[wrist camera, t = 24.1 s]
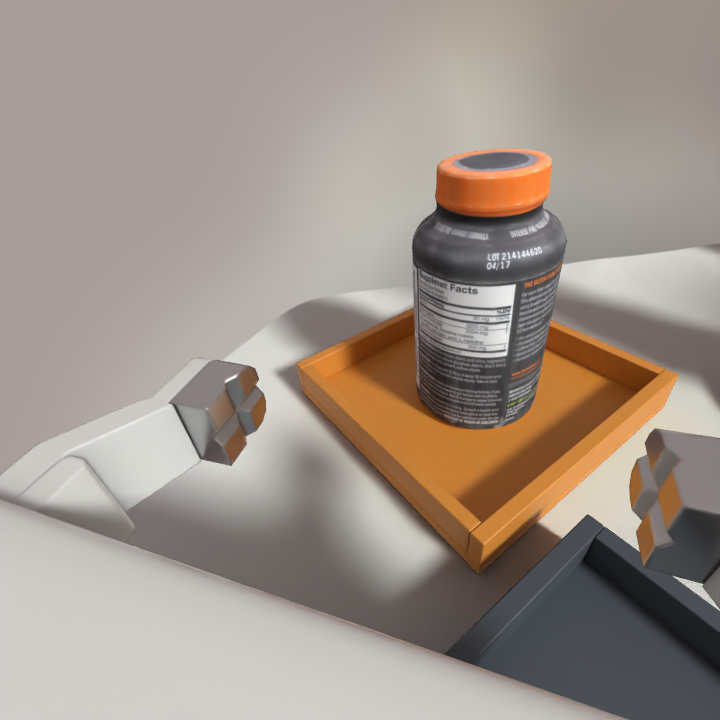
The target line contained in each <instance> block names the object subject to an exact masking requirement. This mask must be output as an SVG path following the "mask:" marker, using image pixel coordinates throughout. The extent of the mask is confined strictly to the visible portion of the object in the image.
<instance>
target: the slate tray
mask: <svg viewBox="0 0 720 720" xmlns="http://www.w3.org/2000/svg"><path fill="white" fill-rule="evenodd" d="M444 655H446V656H449V657H452V658H455V659H458V660H460V661H463V662H466V663H469V664H472V665H475V666H478V667H480V668H483V669H486V670H489V671H492V672H495V673H498V674H500V675H503V676H506V677H509V678H512V679H515V680H518V681H520V682H523V683H526V684H529V685H532V686H535V687H537V688H540V689H543V690H546V691H549V692H552V693H555V694H557V695H560V696H563V697H566V698H569V699H572V700H575V701H577V702H580V703H583V704H586V705H589V706H592V707H595V708H597V709H600V710H603V711H606V712H609V713H612V714H615V715H617V716H620V717H623V718H626V719H629V720H720V611H719V610H717V609H716V608H715V607H713V606H712V605H711V604H709V603H708V602H707V601H705V600H704V599H702V598H701V597H700V596H698V595H697V594H696V593H694V592H693V591H692V590H690V589H689V588H688V587H686V586H685V585H683V584H682V583H681V582H679V581H678V580H677V579H675V578H674V577H673V576H671V575H668V574H665V573H661V572H657V571H654V570H650V569H646V568H643V565H642V560H641V555H640V552H639V551H637V550H636V549H635V548H633V547H632V546H631V545H629V544H628V543H627V542H625V541H624V540H622V539H621V538H620V537H618V536H617V535H616V534H614V533H613V532H612V531H610V530H609V529H608V528H606V527H605V528H604V526H603V525H602V524H601V523H599V522H598V521H597V520H595V519H594V518H593V517H591V516H590V515H586V516H585V517H584V518H583V519H582V520H581V521H580V522H579V523H578V524H577V525H576V526H575V527H574V528H573V529H572V530H571V531H570V532H569V533H568V534H567V535H566V536H565V537H564V538H563V539H562V540H561V541H560V542H559V543H558V544H557V545H556V546H555V547H553V548H552V549H551V550H550V551H549V552H548V553H547V554H546V555H545V556H544V557H543V558H542V559H541V560H540V561H539V562H538V563H537V564H536V565H535V566H534V567H533V568H532V569H531V570H530V571H529V572H528V573H527V574H526V575H525V576H524V577H523V578H522V579H521V580H520V581H519V582H518V583H517V584H516V585H515V586H514V587H512V588H511V589H510V590H509V591H508V592H507V593H506V594H505V595H504V596H503V597H502V598H501V599H500V600H499V601H498V602H497V603H496V604H495V605H494V606H493V607H492V608H491V609H490V610H489V611H488V612H487V613H486V614H485V615H484V616H483V617H482V618H481V619H480V620H479V621H478V622H477V623H476V624H475V625H474V626H473V627H472V628H470V629H469V630H468V631H467V632H466V633H465V634H464V635H463V636H462V637H461V638H460V639H459V640H458V641H457V642H456V643H455V644H454V645H453V646H452V647H451V648H450V649H449V650H448V651H447V652H446V653H445V654H444Z"/></svg>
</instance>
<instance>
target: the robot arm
mask: <svg viewBox="0 0 720 720" xmlns="http://www.w3.org/2000/svg"><path fill="white" fill-rule="evenodd" d="M258 380H259V378H258V375H257V372H256V370H255V368H253V367H251V366H247V365H242V364H236V363H231V362H225V361H220V360H211V359H206V358H201V357H198V358H194V359H191V361H189V362H188V363H187V364H186V365H185V366H184V367H183V368H182V369H181V370H180V371H179V372H178V373H177V374H176V375H174V376H173V377H172V378H171V379H170V380H169V381H168V382H167V383H166V384H165V385H164V386H163V387H162V388H161V389H160V390H158V391H157V392H156V393H155V394H154V395H153V396H152V397H151V398H150V399H141V400H139V401H137V402H134V403H132V404H130V405H127V406H125V407H123V408H120V409H118V410H116V411H113V412H111V413H109V414H106V415H104V416H101V417H100V418H97V419H95V420H92V421H90V422H88V423H85V424H83V425H80V426H78V427H76V428H74V429H71V430H69V431H66V432H64V433H62V434H59V435H57V436H55V437H52V438H50V439H48V440H46V441H43V442H41V443H38V444H36V445H35V446H34V447H33V448H31V449H30V450H29V451H28V452H27V453H25V454H24V455H23V456H22V457H21V458H19V459H18V460H17V461H16V462H15V463H13V464H12V465H11V466H10V467H9V468H7V469H6V470H5V471H4V472H2V473H1V474H0V720H629V719H626V718H623V717H620V716H617V715H615V714H612V713H609V712H606V711H603V710H600V709H597V708H595V707H592V706H589V705H586V704H583V703H580V702H577V701H575V700H572V699H569V698H566V697H563V696H560V695H557V694H555V693H552V692H549V691H546V690H543V689H540V688H537V687H535V686H532V685H529V684H526V683H523V682H520V681H518V680H515V679H512V678H509V677H506V676H503V675H500V674H498V673H495V672H492V671H489V670H486V669H483V668H480V667H478V666H475V665H472V664H469V663H466V662H463V661H460V660H458V659H455V658H452V657H449V656H446V655H443V654H440V653H438V652H435V651H432V650H429V649H426V648H423V647H420V646H418V645H415V644H412V643H409V642H406V641H403V640H400V639H398V638H395V637H392V636H389V635H386V634H383V633H381V632H378V631H375V630H372V629H369V628H366V627H363V626H361V625H358V624H355V623H352V622H349V621H346V620H343V619H341V618H338V617H335V616H332V615H329V614H326V613H323V612H321V611H318V610H315V609H312V608H309V607H306V606H303V605H301V604H298V603H295V602H292V601H289V600H286V599H283V598H281V597H278V596H275V595H272V594H269V593H266V592H263V591H261V590H258V589H255V588H252V587H249V586H246V585H244V584H241V583H238V582H235V581H232V580H229V579H226V578H224V577H221V576H218V575H215V574H212V573H209V572H206V571H203V570H201V569H198V568H195V567H192V566H189V565H186V564H183V563H181V562H178V561H175V560H172V559H169V558H166V557H163V556H161V555H158V554H155V553H152V552H149V551H146V550H143V549H141V548H138V547H135V546H132V545H129V544H126V542H127V540H128V539H129V538H130V536H131V535H132V534H133V533H134V531H135V524H134V523H133V522H132V520H131V519H130V518H129V517H128V515H127V514H126V513H125V512H126V511H128V510H129V509H131V508H132V507H134V506H135V505H137V504H138V503H140V502H141V501H143V500H144V499H146V498H147V497H149V496H150V495H152V494H153V493H155V492H156V491H158V490H159V489H161V488H162V487H164V486H165V485H166V484H168V483H169V482H171V481H172V480H174V479H175V478H177V477H178V476H180V475H181V474H183V473H184V472H186V471H187V470H189V469H190V468H192V467H193V466H195V465H196V464H198V463H199V462H201V460H200V459H202V460H206V461H211V462H216V463H220V464H225V465H230V466H232V464H233V463H234V462H235V460H236V459H237V457H238V456H239V455H240V453H241V452H242V450H243V449H244V448H245V446H246V445H247V441H246V436H248V435H249V434H251V433H253V432H255V431H257V429H258V428H259V426H260V425H261V423H262V422H263V418H264V415H265V412H266V400H265V397H264V393H263V392H262V391H261V390H260V389H259V388H258V387H257V386H256V384H257V382H258ZM645 446H646V450H647V454H648V455H645V456H643V457H641V458H639V459H637V460H636V463H635V465H634V467H633V470H632V473H631V479H630V485H629V489H630V501H631V507H632V510H633V511H634V512H635V514H636V515H637V516H638V517H639V518H640V519H641V520H642V522H641V524H640V526H639V527H638V529H637V531H636V534H637V539H638V545H639V550H640V555H641V560H642V565H643V568H646V569H650V570H654V571H657V572H661V573H665V574H668V575H672V576H676V577H680V578H683V579H687V580H691V581H694V582H698V583H702V584H703V586H702V587H703V588H704V589H705V591H706V592H707V593H708V594H709V596H710V597H711V598H712V600H713V601H714V602H715V603H716V605H717V606H718V607H719V609H720V438H717V437H710V436H703V435H696V434H689V433H683V432H676V431H669V430H662V429H656V428H655V429H654V430H653V431H652V432H651V433H650V434H649V436H648V438H647V440H646V442H645Z"/></svg>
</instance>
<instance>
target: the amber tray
mask: <svg viewBox="0 0 720 720" xmlns="http://www.w3.org/2000/svg"><path fill="white" fill-rule="evenodd" d="M296 366H297V370H298V374H299V378H300V382H301V387H302V391H303V392H304V393H305V394H306V396H307V397H308V398H309V399H310V400H311V401H312V402H313V403H314V404H315V405H316V406H317V407H318V408H319V409H320V410H321V411H322V412H323V413H324V414H325V415H326V416H327V417H328V418H329V419H330V420H331V422H332V423H333V424H334V425H335V426H336V427H337V428H338V429H339V430H340V431H341V432H342V433H343V434H344V435H345V436H346V437H347V438H348V439H349V440H350V441H351V442H352V443H353V444H354V445H355V446H356V448H357V449H358V450H359V451H360V452H361V453H362V454H363V455H364V456H365V457H366V458H367V459H368V460H369V461H370V462H371V463H372V464H373V465H374V466H375V467H376V468H377V469H378V470H379V471H380V472H381V474H382V475H383V476H384V477H385V478H386V479H387V480H388V481H389V482H390V483H391V484H392V485H393V486H394V487H395V488H396V489H397V490H398V491H399V492H400V493H401V494H402V495H403V496H404V497H405V498H406V500H407V501H408V502H409V503H410V504H411V505H412V506H413V507H414V508H415V509H416V510H417V511H418V512H419V513H420V514H421V515H422V516H423V517H424V518H425V519H426V520H427V521H428V522H429V523H430V525H431V526H432V527H433V528H434V529H435V530H436V531H437V532H438V533H439V534H440V535H441V536H442V537H443V538H444V539H445V540H446V541H447V542H448V543H449V544H450V545H451V546H452V547H453V548H454V549H455V551H456V552H457V553H458V554H459V555H460V556H461V557H462V558H463V559H464V560H465V561H466V562H467V563H468V564H469V565H470V566H471V567H472V568H473V569H474V570H475V571H476V572H477V573H478V574H480V573H482V572H483V571H484V570H485V569H486V568H487V567H488V566H489V565H490V564H491V563H493V562H494V561H495V560H496V559H497V558H498V557H499V556H500V555H501V554H502V553H503V552H505V551H506V550H507V549H508V548H509V547H510V546H511V545H512V544H513V543H514V542H516V541H517V540H518V539H519V538H520V537H521V536H522V535H523V534H524V533H525V532H527V531H528V530H529V529H530V528H531V527H532V526H533V525H534V524H535V523H536V522H538V521H539V520H540V519H541V518H542V517H543V516H544V515H545V514H546V513H547V512H549V511H550V510H551V509H552V508H553V507H554V506H555V505H556V504H557V503H558V502H560V501H561V500H562V499H563V498H564V497H565V496H566V495H567V494H568V493H569V492H571V491H572V490H573V489H574V488H575V487H576V486H577V485H578V484H579V483H580V482H582V481H583V480H584V479H585V478H586V477H587V476H588V475H589V474H590V473H591V472H593V471H594V470H595V469H596V468H597V467H598V466H599V465H600V464H601V463H602V462H604V461H605V460H606V459H607V458H608V457H609V456H610V455H611V454H612V453H613V452H615V451H616V450H617V449H618V448H619V447H620V446H621V445H622V444H623V443H624V442H626V441H627V440H628V439H629V438H630V437H631V436H632V435H633V434H634V433H635V432H636V431H638V430H639V429H640V428H641V427H642V426H643V425H644V424H645V423H646V422H647V421H649V420H650V419H651V418H652V417H653V416H654V415H655V414H656V413H657V412H658V411H660V410H661V409H662V408H663V407H664V405H665V403H666V401H667V398H668V397H669V395H670V393H671V391H672V388H673V386H674V384H675V382H676V380H677V378H678V376H679V375H678V374H676V373H674V372H672V371H669V370H667V369H664V368H662V367H660V366H658V365H655V364H653V363H651V362H648V361H646V360H644V359H641V358H639V357H637V356H634V355H632V354H630V353H627V352H625V351H623V350H620V349H618V348H616V347H613V346H611V345H609V344H606V343H604V342H602V341H599V340H597V339H595V338H592V337H590V336H588V335H585V334H583V333H581V332H578V331H576V330H574V329H571V328H569V327H567V326H564V325H562V324H560V323H557V322H555V321H553V320H551V321H550V326H549V331H548V336H547V341H546V347H545V352H544V356H543V362H542V366H541V372H540V376H539V381H538V386H537V391H536V396H535V400H534V402H533V405H532V406H531V408H530V410H529V411H528V412H527V413H526V414H525V415H524V416H523V417H522V418H520V419H519V420H517V421H515V422H513V423H511V424H508V425H506V426H504V427H499V428H493V429H468V428H463V427H458V426H454V425H451V424H449V423H447V422H445V421H443V420H441V419H439V418H437V417H436V416H434V415H433V414H432V413H431V412H430V411H429V410H427V408H426V407H425V406H424V405H423V404H422V402H421V400H420V398H419V396H418V393H417V385H416V357H415V324H414V308H412V309H410V310H408V311H406V312H404V313H402V314H399V315H397V316H395V317H393V318H391V319H389V320H387V321H385V322H383V323H380V324H378V325H376V326H374V327H372V328H370V329H368V330H366V331H364V332H361V333H359V334H357V335H355V336H353V337H351V338H349V339H347V340H345V341H343V342H340V343H338V344H336V345H334V346H332V347H330V348H328V349H326V350H324V351H321V352H319V353H317V354H315V355H313V356H311V357H309V358H307V359H305V360H302V361H300V362H298V363H297V364H296Z"/></svg>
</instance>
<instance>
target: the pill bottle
mask: <svg viewBox="0 0 720 720" xmlns="http://www.w3.org/2000/svg"><path fill="white" fill-rule="evenodd" d="M551 167H552V160H551V157H549V156H548V155H547V154H544V153H542V152H538V151H533V150H523V149H493V150H492V149H491V150H482V151H474V152H468V153H462V154H459V155H455V156H452V157H449V158H447V159H445V160H443V161H441V162H440V163H439V164H438V166H437V184H436V194H435V197H436V202H437V208H436V210H435V211H434V212H433V213H432V214H431V215H430V216H428V217H427V218H425V219H424V220H423V221H422V222H421V224H420V225H419V227H418V228H417V230H416V232H415V234H414V237H413V245H412V250H413V288H414V324H415V357H416V385H417V393H418V396H419V398H420V400H421V402H422V404H423V405H424V406H425V407H426V408H427V410H429V411H430V412H431V413H432V414H433V415H434V416H436V417H437V418H439V419H441V420H443V421H445V422H447V423H449V424H451V425H454V426H458V427H463V428H468V429H493V428H499V427H504V426H506V425H508V424H511V423H513V422H515V421H517V420H519V419H520V418H522V417H523V416H524V415H525V414H526V413H527V412H528V411H529V410H530V408H531V406H532V405H533V402H534V400H535V396H536V391H537V386H538V381H539V376H540V372H541V366H542V362H543V356H544V352H545V347H546V341H547V336H548V331H549V326H550V321H551V316H552V312H553V308H554V302H555V297H556V292H557V287H558V282H559V277H560V272H561V268H562V262H563V257H564V252H565V247H566V243H567V242H566V241H567V240H566V233H565V230H564V227H563V225H562V224H561V222H560V221H559V219H558V218H557V217H556V216H554V215H553V214H552V213H551V212H549V211H547V210H545V209H543V206H542V205H543V203H544V201H545V199H546V198H547V196H548V194H549V191H550V184H549V183H550V176H551Z"/></svg>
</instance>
